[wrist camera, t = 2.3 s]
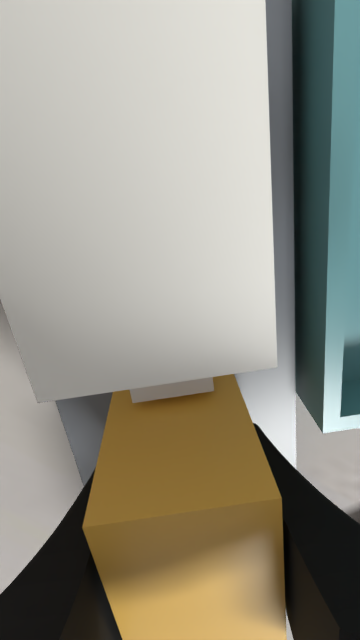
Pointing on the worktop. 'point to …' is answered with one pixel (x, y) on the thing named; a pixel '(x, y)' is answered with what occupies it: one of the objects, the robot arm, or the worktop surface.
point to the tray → (327, 209)
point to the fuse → (135, 192)
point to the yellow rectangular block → (187, 520)
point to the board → (275, 383)
